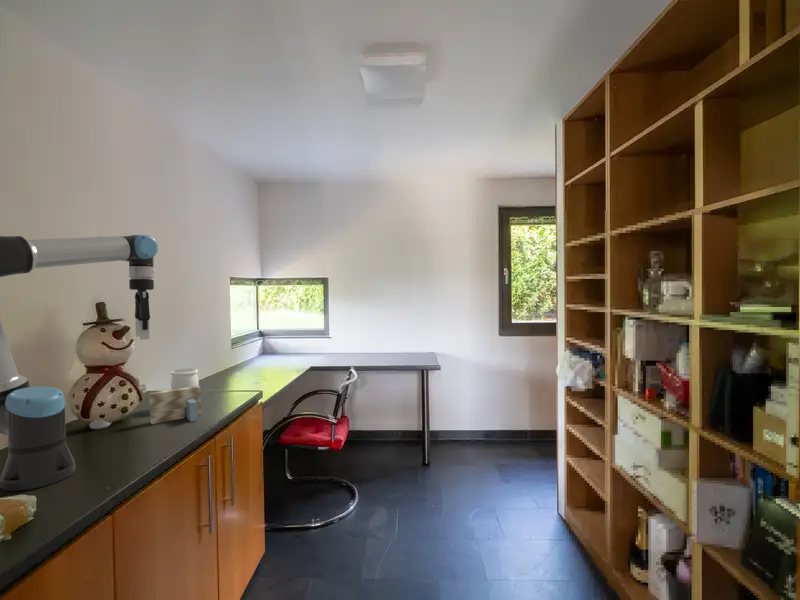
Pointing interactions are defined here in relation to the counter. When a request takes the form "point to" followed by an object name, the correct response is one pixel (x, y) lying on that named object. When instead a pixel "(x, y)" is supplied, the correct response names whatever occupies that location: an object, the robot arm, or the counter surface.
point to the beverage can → (99, 424)
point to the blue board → (191, 410)
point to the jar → (184, 378)
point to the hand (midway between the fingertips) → (142, 337)
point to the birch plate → (172, 403)
